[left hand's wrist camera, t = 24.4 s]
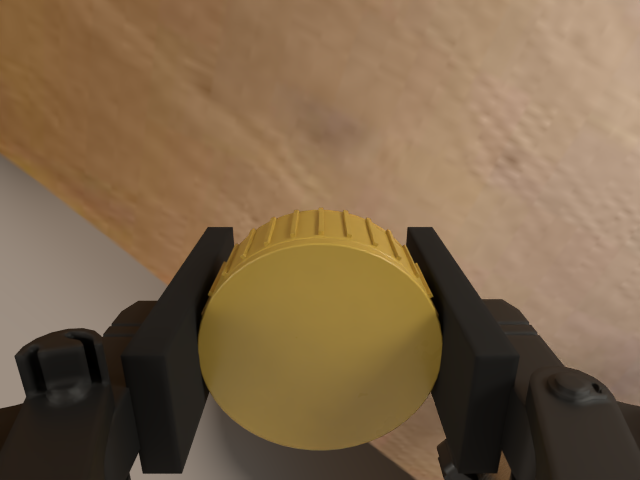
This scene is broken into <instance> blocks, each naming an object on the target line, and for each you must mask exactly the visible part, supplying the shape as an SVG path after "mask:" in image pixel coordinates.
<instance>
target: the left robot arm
mask: <svg viewBox="0 0 640 480" xmlns="http://www.w3.org/2000/svg"><path fill="white" fill-rule="evenodd" d="M406 247H407V249H408V251H409V253H410V255H411V257H412V259H413V261H414V264H415V263H417V264H418V266H419V268H420V270H421V272H422V274H423V276H424V279H425V281H426V283H427V285H428V287H429V289H430V291H431V293H432V295H433V297H432V298H431V299H432V301H433V304H434V306H435V308H436V310H437V312H438V314H439V322H440V326H441V331H442V336H443V344H442V354H441V362H440V370H439V374H438V377H437V380H436V382H435V384H434V386H433V388H432V390H431V394H432V397H433V399H434V402H435V405H436V408H437V411H438V414H439V417H440V420H441V423H442V426H443V429H444V432H445V435H446V438H447V441H448V444H449V447H450V450H451V453H452V456H453V459H454V462H455V465H456V468H457V471H458V474H497V473H498V468H499V463H500V457H501V452H503V454H504V456H505V458H506V460H507V462H508V465H509V467H510V469H511V473H510V478H509V480H640V406H635V405H630V404H625V403H622V402H618V401H616V400H615V398H614V396H613V395H612V393H611V392H610V391H609V389H608V388H607V387H606V386H605V385H604V384H602V383H601V382H600V381H598V380H597V379H595V378H594V377H592V376H590V375H588V374H586V373H583V372H581V371H579V370H575V369H571V368H567V367H565V366H564V365H563V364H562V363H561V361H560V360H559V359H558V358H557V357H556V355H555V354H554V353H553V352H552V350H551V349H550V348H549V347H548V345H547V344H546V343H545V342H544V340H543V339H542V338H541V337H540V335H537V332H536V330H535V329H534V328H533V327H532V325H529V322H528V320H527V319H526V318H525V317H524V316H523V314H522V313H521V312H520V311H519V310H518V309H517V308H515V307H514V306H512V305H510V304H509V303H507V302H506V301H504V300H502V299H481V298H480V296H479V295H478V293H477V292H476V291H475V289H474V288H473V286H472V285H471V283H470V282H469V280H468V279H467V277H466V276H465V274H464V273H463V271H462V270H461V269H460V267H459V266H458V264H457V263H456V261H455V260H454V258H453V257H452V255H451V254H450V252H449V251H448V250H447V248H446V247H445V245H444V244H443V242H442V241H441V239H440V238H439V236H438V235H437V233H436V232H435V230H434V229H433V228H432V227H408V229H407V242H406ZM233 248H234V238H233V227H208V228H207V229H206V231H205V232H204V234H203V235H202V237H201V238H200V240H199V241H198V243H197V244H196V246H195V247H194V248H193V250H192V251H191V253H190V254H189V256H188V257H187V259H186V260H185V262H184V263H183V265H182V266H181V268H180V269H179V270H178V272H177V273H176V275H175V276H174V278H173V279H172V281H171V282H170V284H169V285H168V287H167V288H166V290H165V291H164V292H163V294H162V295H161V297H160V298H159V300H158V301H137V302H136V303H134V304H133V305H131V306H129V307H128V308H126V309H125V310H123V311H122V312H121V313H120V314H119V315H118V317H117V318H116V319H115V320H114V322H113V323H112V326H110V327H109V328H108V329H107V330H106V332H105V333H104V334H103V337H101V335H99V334H98V333H97V332H96V331H94V330H89V329H84V328H77V329H65V330H61V331H57V332H52V333H49V334H47V335H44V336H42V337H39V338H37V339H35V340H33V341H32V342H30V343H28V344H27V345H25V346H23V347H22V348H21V349H20V351H19V352H18V353H17V354H16V355H15V359H16V363H17V366H18V370H19V373H20V377H21V380H22V384H23V387H24V390H25V394H26V399H25V401H24V403H22V404H19V405H15V406H10V407H6V408H1V409H0V480H131V478H130V473H129V472H130V470H131V468H132V465H133V463H134V461H135V459H136V457H137V455H138V453H139V456H140V461H141V466H142V471H143V474H174V473H175V474H181V473H182V472H183V469H184V466H185V463H186V460H187V457H188V454H189V451H190V448H191V445H192V442H193V439H194V436H195V433H196V430H197V427H198V424H199V421H200V418H201V415H202V412H203V409H204V406H205V403H206V400H207V397H208V394H209V390H208V388H207V386H206V384H205V381H204V379H203V377H202V373H201V368H200V360H199V351H198V331H199V327H200V322H201V319H202V317H201V313H202V311H203V309H204V307H205V304H206V302H207V300H208V298H209V296H208V293H209V291H210V289H211V287H212V285H213V283H214V281H215V279H216V277H217V275H218V273H219V271H220V269H221V266H222V264H223V262H224V261H225V262H227V261H228V259H229V256H230V254H231V252H232V250H233Z"/></svg>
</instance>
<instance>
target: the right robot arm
mask: <svg viewBox="0 0 640 480" xmlns="http://www.w3.org/2000/svg"><path fill="white" fill-rule="evenodd" d="M437 450H438V454H439V457H438V460H439V463H440V467H441V470H442V474H443V477H444V479H445V480H478V478H477V475H476V474H458V471H457V468H456V465H455V462H454V459H453V456H452V453H451V450H450V447H449V444H448V441H447V439H445V440H444V441H443V442H441V443H440V444H439V445H438V446H437Z"/></svg>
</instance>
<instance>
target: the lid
mask: <svg viewBox="0 0 640 480" xmlns="http://www.w3.org/2000/svg"><path fill="white" fill-rule="evenodd" d="M208 296H209V298H208V300H207V302H206V304H205V307H204V309H203V311H202V313H201V317H202V319H201V322H200V327H199V331H198V351H199V360H200V368H201V373H202V377H203V379H204V381H205V384H206V386H207V388H208V390H209V392H210V393H211V395H212V396H213V398H214V400H215V401H216V402H217V403H218V405H219V406H220V407H221V408H222V410H223V411H224V412H225V413H226V414H227V415H228V416H230V417H231V418H232V419H233V420H234V421H235V422H237V423H238V424H239V425H241V426H242V427H243V428H245V429H246V430H248V431H250V432H252V433H253V434H255V435H257V436H259V437H261V438H264V439H266V440H268V441H271V442H274V443H277V444H280V445H283V446H288V447H292V448H297V449H307V450H334V449H342V448H348V447H352V446H357V445H360V444H363V443H367V442H370V441H372V440H374V439H377V438H379V437H381V436H383V435H385V434H387V433H389V432H390V431H392V430H394V429H395V428H397V427H398V426H400V425H401V424H402V423H404V422H405V421H406V420H407V419H408V418H410V417H411V416H412V415H413V414H414V413H415V412H416V411H417V410H418V409H419V407H420V406H421V405H422V404H423V403H424V401H425V400H426V398H427V397H428V395H429V394H430V392H431V390H432V388H433V386H434V384H435V382H436V380H437V377H438V374H439V370H440V362H441V354H442V344H443V336H442V331H441V326H440V322H439V314H438V312H437V310H436V308H435V306H434V304H433V301H432V299H431V298H432V297H433V295H432V293H431V291H430V289H429V287H428V285H427V283H426V281H425V279H424V276H423V274H422V272H421V270H420V268H419V266H418V264H417V263H415V264H414V261H413V259H412V257H411V255H410V253H409V251H408V249H407V247H406V246H405V245H403V246H402V245H401V244H400V243H399V242H398V241H397V240H396V239H395V238H394V237H393V236H392V233H391V231H390V230H388V229H387V230H386V231H385V230H384V229H382V228H381V227H379V226H377V225H376V224H374V223H372V221H371V219H370V218H366V219H363V218H361V217H358V216H356V215H352V214H348V211H346V210H343V212H339V211H331V210H323V208H319V210H309V211H301V212H299V210H294V213H292V214H288V215H285V216H282V217H279V218H277V219H276V218H275V217H273V218H271V220H270V222H268V223H266V224H265V225H263V226H261V227H259V228H258V229H257V230H255V229H254V228H253V229H252V230H251V231H250V233H249V236H248V237H247V238H246V239H245V240H243V241H242V242H241V243H240V244H239V245H238V244H236V245H235V246H234V248H233V250H232V252H231V254H230V256H229V259H228V261H227V262H225V261H224V262H223V264H222V266H221V269H220V271H219V273H218V275H217V277H216V279H215V281H214V283H213V285H212V287H211V289H210V291H209V293H208Z"/></svg>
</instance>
